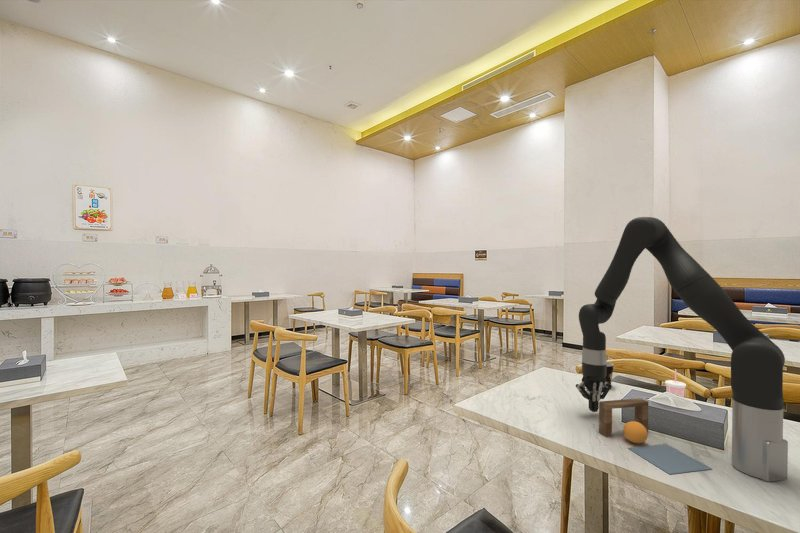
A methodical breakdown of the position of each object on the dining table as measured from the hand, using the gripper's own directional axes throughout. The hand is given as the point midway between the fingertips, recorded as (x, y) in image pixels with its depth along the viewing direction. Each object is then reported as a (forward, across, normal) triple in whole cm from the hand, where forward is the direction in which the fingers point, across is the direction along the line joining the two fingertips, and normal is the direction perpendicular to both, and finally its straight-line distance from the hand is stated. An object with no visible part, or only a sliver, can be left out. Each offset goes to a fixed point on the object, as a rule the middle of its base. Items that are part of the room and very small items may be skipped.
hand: (593, 411), depth 125 cm
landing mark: (+2, 0, -28) cm, 28 cm away
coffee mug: (+2, +23, +25) cm, 34 cm away
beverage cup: (+2, +35, +1) cm, 35 cm away
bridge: (+2, 0, -13) cm, 13 cm away
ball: (-2, -1, -19) cm, 19 cm away
